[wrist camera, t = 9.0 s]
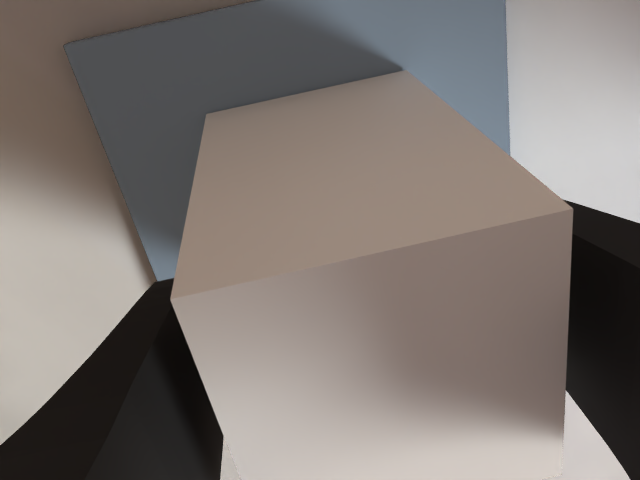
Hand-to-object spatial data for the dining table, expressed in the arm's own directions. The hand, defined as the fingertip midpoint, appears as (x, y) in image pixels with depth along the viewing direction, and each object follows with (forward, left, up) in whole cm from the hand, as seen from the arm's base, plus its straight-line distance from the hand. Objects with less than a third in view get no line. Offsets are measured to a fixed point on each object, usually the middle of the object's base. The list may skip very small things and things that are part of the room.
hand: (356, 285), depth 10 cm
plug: (0, 0, -4) cm, 4 cm away
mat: (0, 0, -4) cm, 4 cm away
